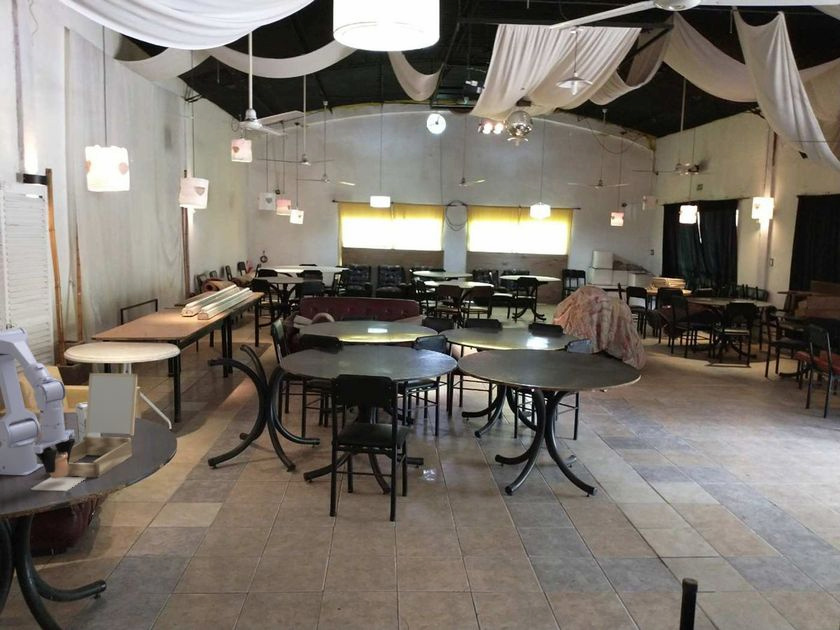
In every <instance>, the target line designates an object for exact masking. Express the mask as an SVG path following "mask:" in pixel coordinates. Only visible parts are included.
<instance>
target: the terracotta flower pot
mask: <svg viewBox="0 0 840 630" xmlns="http://www.w3.org/2000/svg"><path fill="white" fill-rule="evenodd" d="M67 457H68V454H67V452H65V451H60V452H58V451H57V453H56V457H55V472H53V473H50V477H51V478H61V477H67V476H66V475H68V474H69V467H68V462H67Z"/></svg>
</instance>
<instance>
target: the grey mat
mask: <svg viewBox="0 0 840 630" xmlns="http://www.w3.org/2000/svg"><path fill="white" fill-rule="evenodd" d="M86 478H87V477H72V476H64V477H61V478H51V476H50V477H48V478H47V479H46V480H44V481H42V482H40V483H38V484H37V485H35V486H33V487H31V488H30V490H31V491H46V492H47V491H48V492H49V491H50V492H67V491H69V490H71V489H73V488H74V487H75V485H76V486H78V485H79V484H80V483H82V482H83V480H84V481H86V480H87V479H86ZM81 481H82V482H81ZM78 483H79V484H78ZM72 487H73V488H72Z"/></svg>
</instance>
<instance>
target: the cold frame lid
mask: <svg viewBox="0 0 840 630" xmlns="http://www.w3.org/2000/svg"><path fill="white" fill-rule="evenodd" d="M88 376H89V378H88V391H87V392H88V393H87V402H88V403H87V416H86V429H85V434H90V433H102V434H126V435H127V434H129V436H134V435H135V425H136V424H135V422H136V421H135V420H136V405H137V393H138V392H137V390H138V377H139V374H138V373H109V372H107V373H105V372H103V373H102V372H100V373H99V372H97V373H96V372H89V375H88Z"/></svg>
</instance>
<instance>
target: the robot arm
mask: <svg viewBox="0 0 840 630" xmlns="http://www.w3.org/2000/svg"><path fill="white" fill-rule="evenodd" d="M29 342H30V340H29V334H28V331H26V329H25V328H23V327H15V328H10V329H5V330H4V329H3V330H0V389H1V390H0V391H1V394H2V399H3V400H2V401H3V403H4V408H5V412H6V413H5V414H4V415H3V417H1V418H0V442H1V446H0V475H5V476H7V475H9V476H29V475H30V474H32V473H33V472H36V471H37V470H40V469H41V468H43V467H44V469H45V471H46V473H48V474H49V473H53V472H55V457H56V453H57V452H60V451H65V452H67V454H68V457H67V462H68V463H69V458H70V453H71V450H72V447H73V446H74V445H75V443H76V439H75V438H74V437H75V429H66V423H65V416H64V406H63V405H64V404H63V400H65V398H66V395H67V394H66V393H67V392H66V391H67V390H66V387H65V384H64V383H63V381H61V380H60V379H57V378H54V377H53V376H52V374H51V373H50V371H49V370H48V369H47V367H46V366H45V365H44V364H43V363H40V362H38V361H37V359H36V358H35V356H34V355H33V352H32V350H31V349H30V347H29ZM15 360H16V361H17V362H18V363H19V364H20V367H21V366H22V368H23V370H24V371H23V377H24V378H25V379H26V381H27V382H28V384H29V385H30V386H31V388H32V389H33V397H34V400H35V402H36V407H37V410H39V413H40V422H39V421H38V419H37V415H36V413H34V412H33V411H32V412H31V411H29V410H27V409H26V406H25V402H24V397H23V393H22V389H21V384H20V379H19V377H18V371H17V368H16V364H15ZM40 423H41V424H40ZM41 431H42V432H41ZM41 433H42V439H41V440H40V441H39V442H38V443H37V444H36V442H37V441H38V437H39V436H40V434H41ZM72 437H73V438H72ZM53 446H55V449H52V448H51V447H53ZM37 458H38V459H39V460H40V461H41V463H38V459H37Z"/></svg>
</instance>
